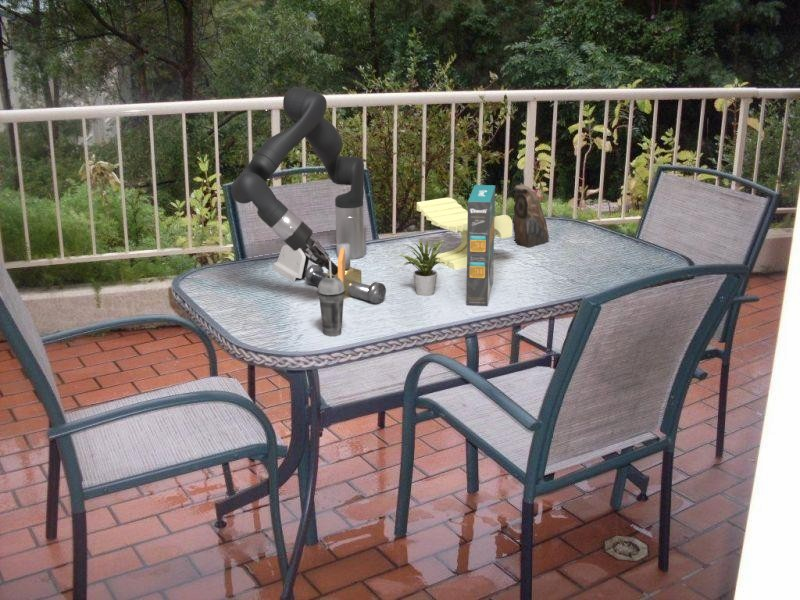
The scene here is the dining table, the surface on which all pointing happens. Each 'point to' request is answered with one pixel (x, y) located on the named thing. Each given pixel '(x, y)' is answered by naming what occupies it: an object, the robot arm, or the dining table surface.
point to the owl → (528, 218)
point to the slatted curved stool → (457, 227)
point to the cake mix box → (480, 245)
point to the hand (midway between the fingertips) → (337, 272)
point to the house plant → (424, 268)
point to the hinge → (292, 263)
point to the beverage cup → (331, 303)
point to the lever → (343, 259)
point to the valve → (350, 284)
